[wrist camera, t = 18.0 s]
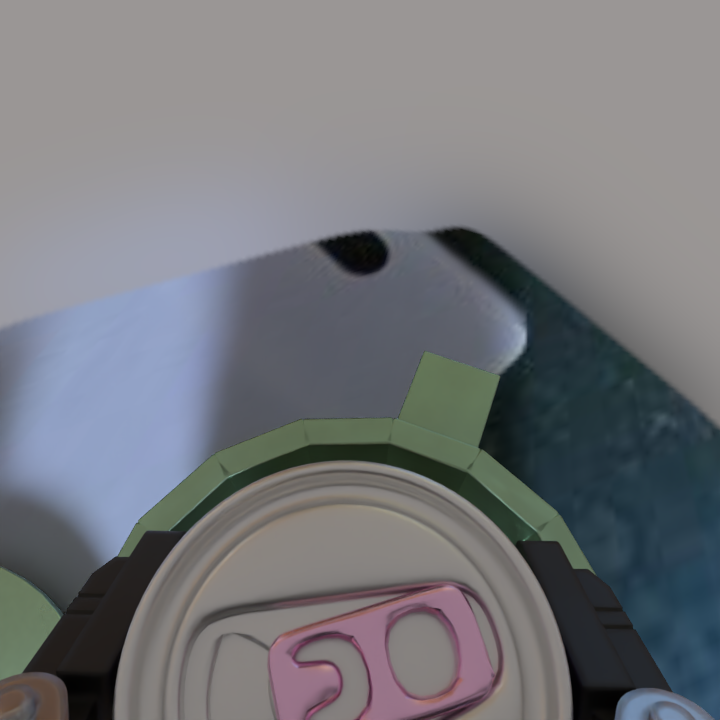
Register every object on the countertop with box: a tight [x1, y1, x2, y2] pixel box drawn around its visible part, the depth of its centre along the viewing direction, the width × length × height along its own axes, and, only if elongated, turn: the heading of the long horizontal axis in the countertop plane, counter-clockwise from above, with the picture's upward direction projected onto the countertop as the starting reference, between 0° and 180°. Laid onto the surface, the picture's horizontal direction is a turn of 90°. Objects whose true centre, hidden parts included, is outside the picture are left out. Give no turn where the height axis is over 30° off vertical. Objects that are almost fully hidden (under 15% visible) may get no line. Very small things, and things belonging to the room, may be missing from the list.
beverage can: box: [112, 460, 573, 720], centre depth 14 cm, size 6×6×15 cm
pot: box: [117, 351, 596, 575], centre depth 17 cm, size 13×18×8 cm
